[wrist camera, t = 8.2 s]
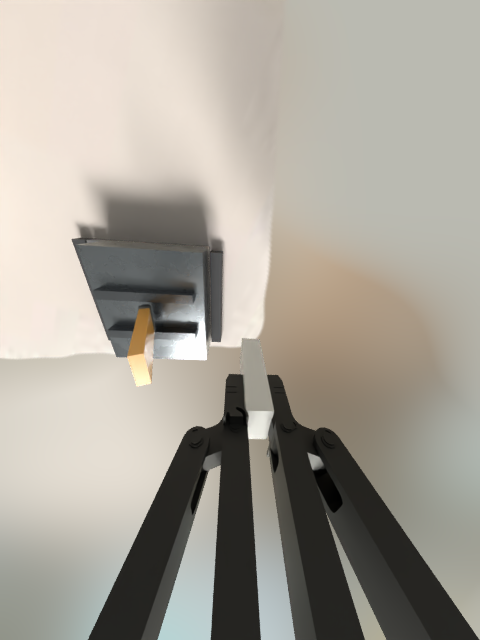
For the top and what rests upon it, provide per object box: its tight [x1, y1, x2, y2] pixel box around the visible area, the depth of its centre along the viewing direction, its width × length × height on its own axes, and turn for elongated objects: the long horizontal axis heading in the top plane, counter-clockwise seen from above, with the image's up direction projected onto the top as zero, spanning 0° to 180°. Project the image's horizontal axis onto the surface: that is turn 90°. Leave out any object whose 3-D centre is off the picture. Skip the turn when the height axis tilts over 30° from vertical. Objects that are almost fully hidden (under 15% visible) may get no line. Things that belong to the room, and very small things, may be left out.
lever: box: [127, 304, 156, 387], centre depth 16 cm, size 3×1×9 cm, turn 176°
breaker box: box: [76, 240, 211, 360], centre depth 22 cm, size 14×12×6 cm
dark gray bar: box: [210, 251, 223, 342], centre depth 25 cm, size 13×1×1 cm, turn 176°
